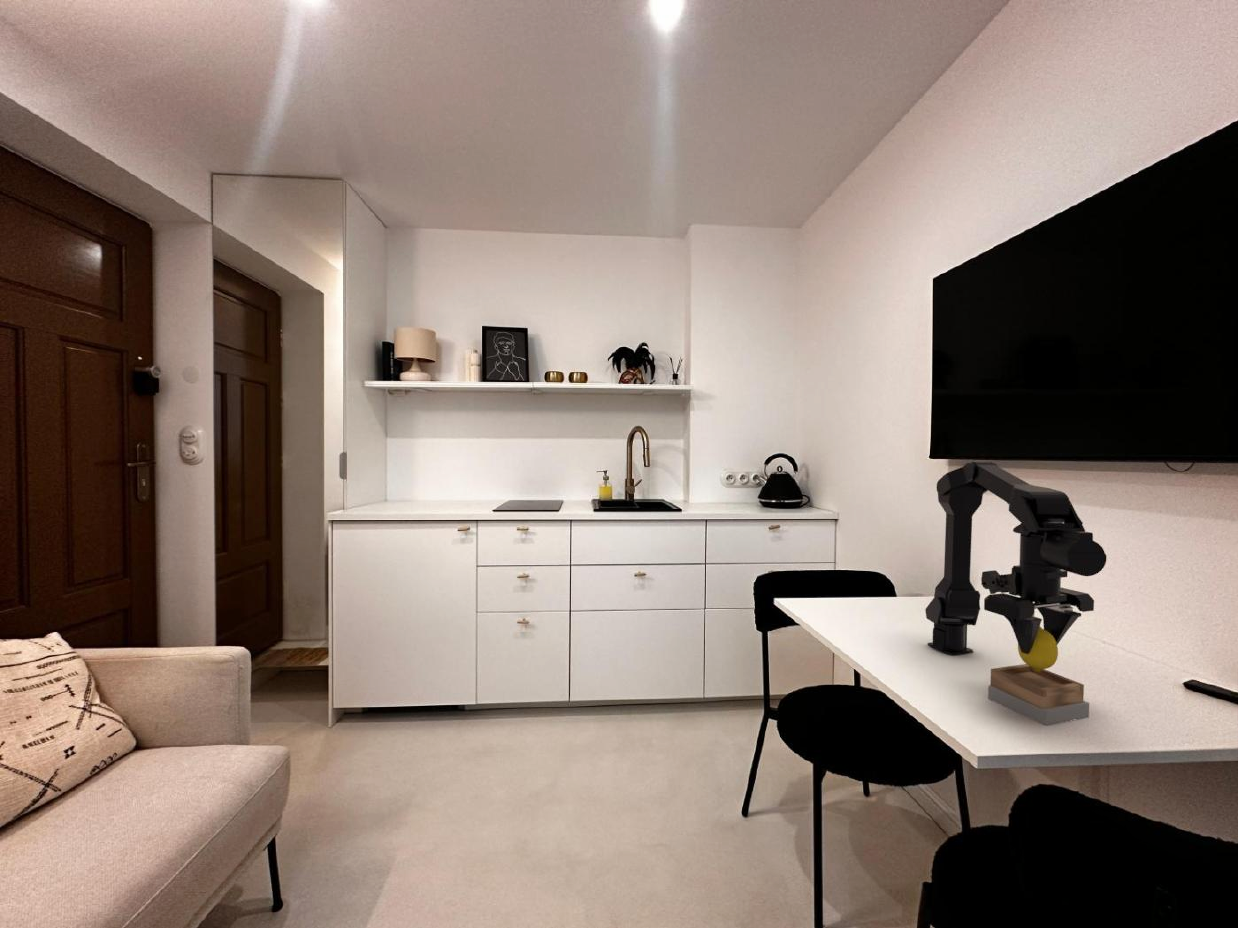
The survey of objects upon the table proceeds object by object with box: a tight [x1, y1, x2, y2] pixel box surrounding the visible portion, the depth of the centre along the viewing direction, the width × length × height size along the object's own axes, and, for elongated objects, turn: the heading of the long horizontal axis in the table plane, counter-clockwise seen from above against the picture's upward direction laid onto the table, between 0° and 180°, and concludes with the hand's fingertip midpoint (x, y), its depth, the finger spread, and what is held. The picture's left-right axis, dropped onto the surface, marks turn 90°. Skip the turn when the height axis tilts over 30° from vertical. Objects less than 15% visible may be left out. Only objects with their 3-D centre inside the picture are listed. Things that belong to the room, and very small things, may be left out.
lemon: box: [1017, 626, 1059, 672], centre depth 94 cm, size 6×6×8 cm
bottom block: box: [987, 684, 1090, 727], centre depth 94 cm, size 10×10×3 cm
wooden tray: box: [989, 663, 1085, 709], centre depth 94 cm, size 9×9×3 cm
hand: (1037, 651), depth 94 cm, fingers closed on lemon, 5 cm apart
